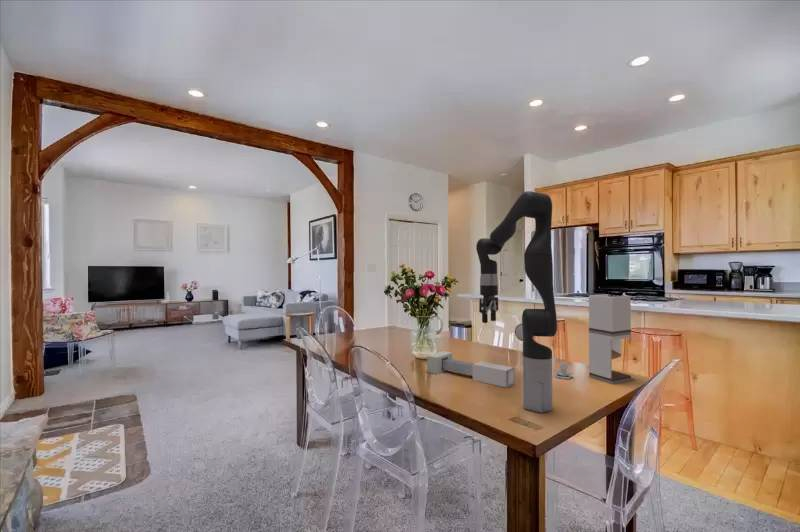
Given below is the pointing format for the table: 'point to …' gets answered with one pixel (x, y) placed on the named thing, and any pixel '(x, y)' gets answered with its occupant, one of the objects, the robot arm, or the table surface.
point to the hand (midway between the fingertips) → (489, 321)
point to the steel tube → (457, 366)
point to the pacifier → (563, 372)
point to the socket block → (437, 362)
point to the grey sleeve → (493, 374)
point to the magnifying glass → (519, 332)
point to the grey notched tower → (607, 335)
